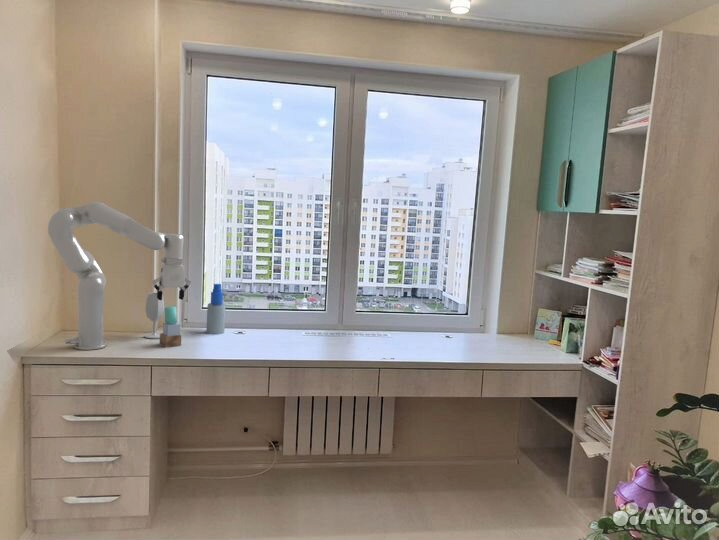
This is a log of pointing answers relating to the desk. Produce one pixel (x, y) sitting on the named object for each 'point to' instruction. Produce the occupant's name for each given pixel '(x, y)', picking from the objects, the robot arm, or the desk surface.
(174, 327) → the bluegrey cube
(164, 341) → the walnut base
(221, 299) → the spray bottle
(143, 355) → the desk surface
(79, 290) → the robot arm
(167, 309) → the teal cylinder
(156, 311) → the wineglass
